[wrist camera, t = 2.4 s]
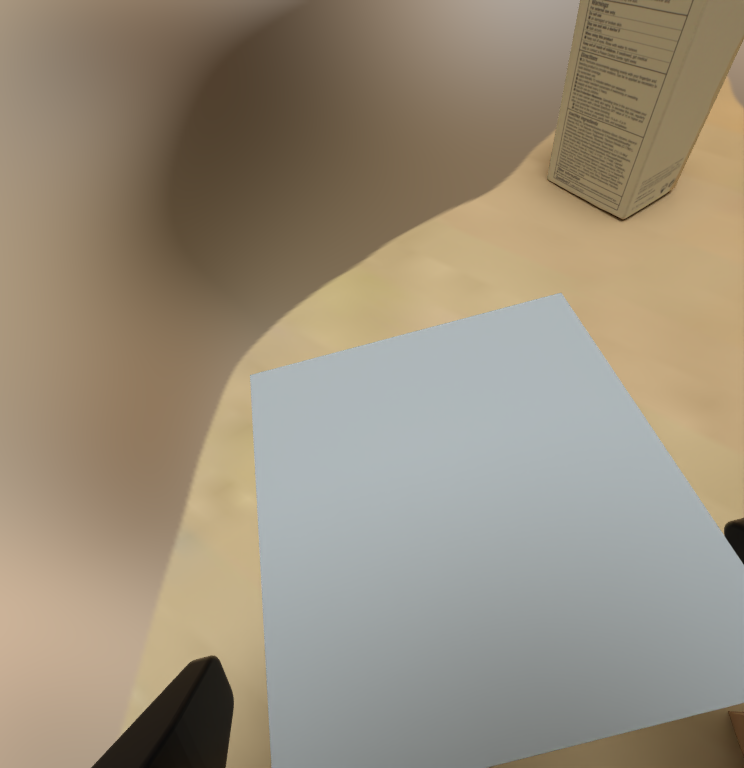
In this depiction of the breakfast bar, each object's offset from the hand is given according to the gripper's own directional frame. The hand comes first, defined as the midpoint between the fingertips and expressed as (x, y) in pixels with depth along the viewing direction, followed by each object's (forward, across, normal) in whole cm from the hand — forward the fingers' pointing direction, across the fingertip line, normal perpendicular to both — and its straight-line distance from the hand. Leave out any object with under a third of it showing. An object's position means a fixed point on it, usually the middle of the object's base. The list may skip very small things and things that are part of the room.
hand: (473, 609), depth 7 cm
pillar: (+7, 0, +6) cm, 9 cm away
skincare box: (+21, -16, -8) cm, 28 cm away
